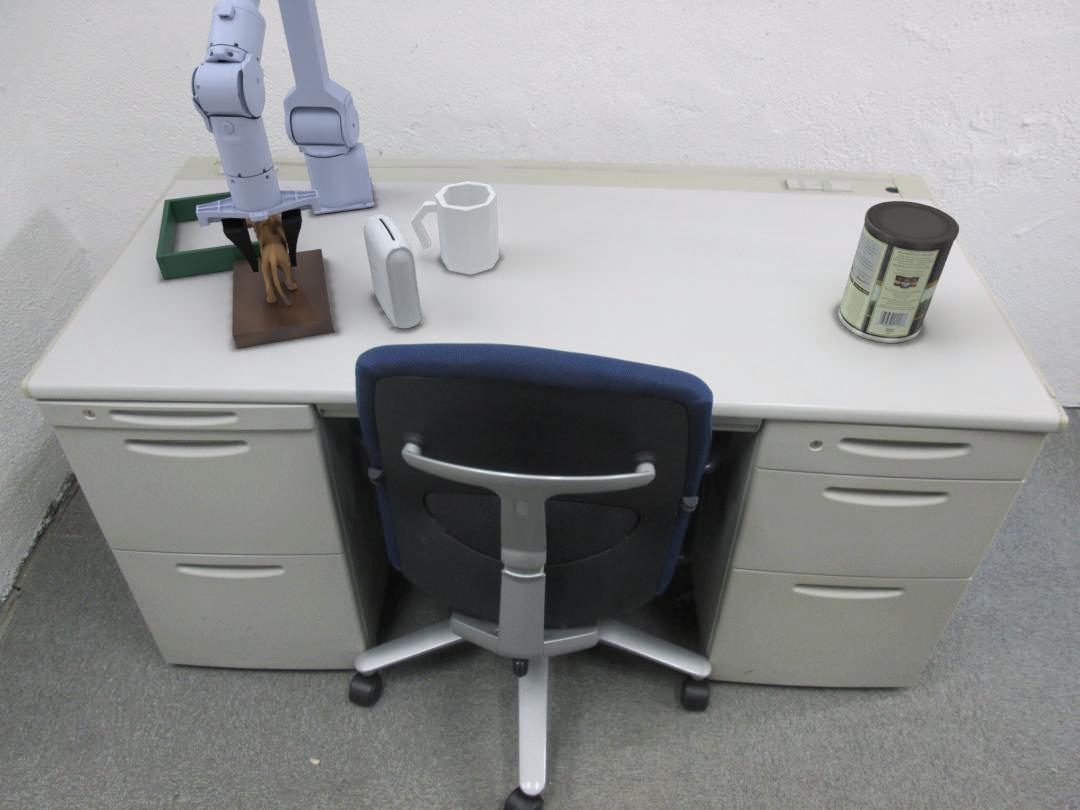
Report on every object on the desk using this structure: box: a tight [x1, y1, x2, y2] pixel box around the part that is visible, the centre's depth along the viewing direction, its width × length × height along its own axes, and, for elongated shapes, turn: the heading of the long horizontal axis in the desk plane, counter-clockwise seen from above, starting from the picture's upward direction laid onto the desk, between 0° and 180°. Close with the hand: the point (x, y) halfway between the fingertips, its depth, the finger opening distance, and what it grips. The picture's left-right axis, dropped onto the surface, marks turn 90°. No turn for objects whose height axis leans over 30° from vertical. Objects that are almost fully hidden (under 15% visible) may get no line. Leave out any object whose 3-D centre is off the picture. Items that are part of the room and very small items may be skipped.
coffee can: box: [837, 200, 960, 344], centre depth 96 cm, size 10×10×14 cm
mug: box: [410, 180, 500, 276], centre depth 110 cm, size 12×9×10 cm
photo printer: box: [363, 213, 423, 329], centre depth 100 cm, size 10×4×12 cm, turn 26°
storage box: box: [155, 191, 262, 280], centre depth 116 cm, size 15×18×4 cm
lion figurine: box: [245, 214, 297, 305], centre depth 102 cm, size 15×5×9 cm, turn 27°
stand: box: [231, 248, 335, 349], centre depth 104 cm, size 12×18×2 cm, turn 16°
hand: (274, 265), depth 103 cm, fingers closed on lion figurine, 4 cm apart
